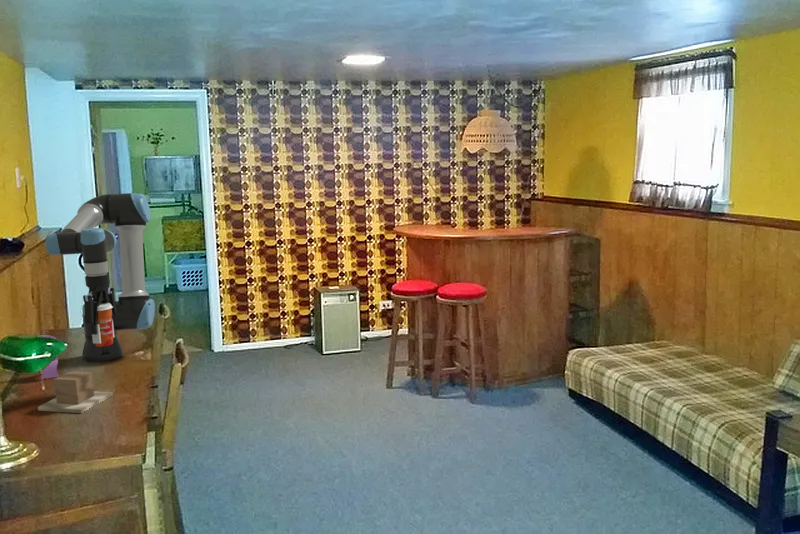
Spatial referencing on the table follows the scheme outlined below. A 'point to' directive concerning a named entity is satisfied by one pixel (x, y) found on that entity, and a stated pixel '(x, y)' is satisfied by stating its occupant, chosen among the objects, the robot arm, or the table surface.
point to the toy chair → (50, 366)
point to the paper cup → (105, 324)
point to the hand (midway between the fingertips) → (103, 340)
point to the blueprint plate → (75, 408)
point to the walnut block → (74, 387)
